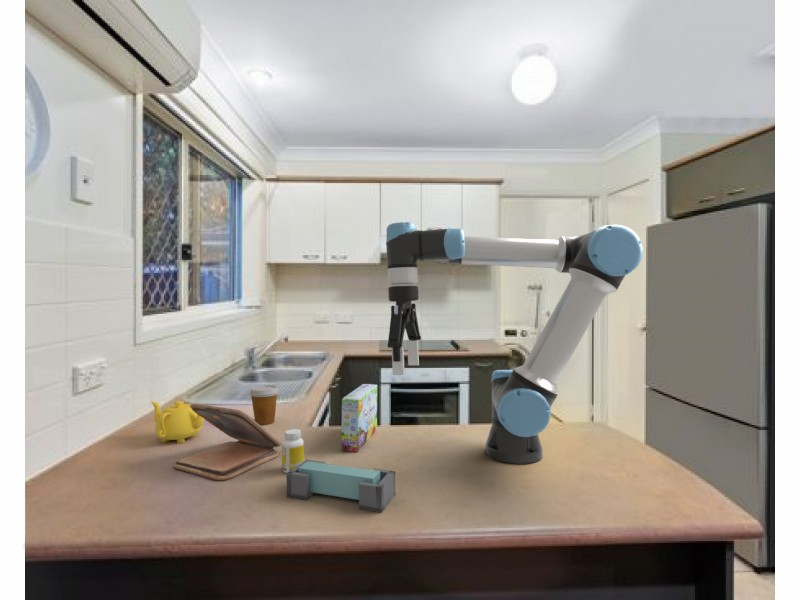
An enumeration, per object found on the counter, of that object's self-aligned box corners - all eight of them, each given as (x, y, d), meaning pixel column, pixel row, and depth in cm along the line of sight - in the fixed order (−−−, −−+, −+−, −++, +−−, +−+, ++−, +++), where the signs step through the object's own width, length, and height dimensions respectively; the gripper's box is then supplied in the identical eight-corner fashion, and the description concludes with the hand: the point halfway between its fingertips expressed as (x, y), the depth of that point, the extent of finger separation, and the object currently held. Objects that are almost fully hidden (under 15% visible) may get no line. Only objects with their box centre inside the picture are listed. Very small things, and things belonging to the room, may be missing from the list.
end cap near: (359, 508, 91) (358, 484, 91) (374, 491, 99) (374, 468, 99) (381, 512, 89) (381, 487, 89) (395, 494, 97) (395, 471, 97)
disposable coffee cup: (284, 421, 154) (284, 386, 153) (263, 428, 145) (262, 392, 145) (266, 417, 159) (265, 384, 158) (244, 423, 151) (243, 389, 150)
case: (285, 455, 122) (284, 397, 122) (223, 484, 104) (221, 416, 104) (233, 444, 132) (232, 391, 132) (168, 469, 113) (166, 407, 113)
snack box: (359, 453, 123) (359, 399, 122) (340, 451, 124) (339, 398, 124) (378, 429, 143) (377, 383, 143) (361, 428, 145) (361, 382, 144)
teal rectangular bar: (380, 493, 96) (380, 471, 96) (373, 502, 92) (373, 478, 92) (308, 482, 102) (307, 461, 102) (298, 490, 98) (298, 467, 98)
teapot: (130, 445, 130) (129, 407, 130) (167, 430, 145) (166, 395, 144) (188, 450, 126) (188, 410, 126) (221, 433, 140) (220, 398, 140)
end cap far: (325, 483, 103) (325, 461, 103) (306, 500, 95) (306, 476, 95) (306, 481, 105) (306, 459, 104) (286, 496, 97) (286, 473, 97)
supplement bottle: (308, 467, 113) (307, 429, 113) (296, 475, 108) (296, 435, 108) (290, 464, 115) (289, 427, 115) (277, 472, 110) (277, 433, 110)
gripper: (402, 286, 123) (405, 361, 124) (371, 285, 99) (375, 379, 100) (429, 284, 121) (432, 361, 121) (403, 284, 97) (407, 379, 98)
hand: (406, 369), depth 111 cm, fingers open, 13 cm apart
